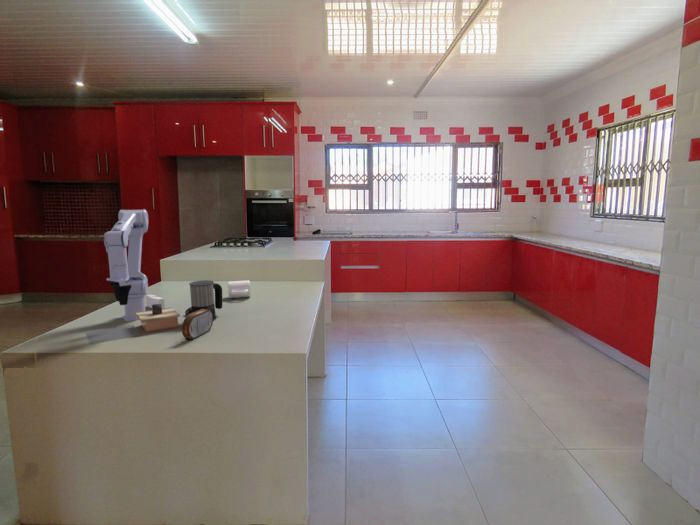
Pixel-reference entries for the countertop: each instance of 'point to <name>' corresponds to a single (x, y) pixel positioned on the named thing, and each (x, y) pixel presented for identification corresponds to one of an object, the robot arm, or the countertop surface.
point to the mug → (239, 289)
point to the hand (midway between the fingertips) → (121, 302)
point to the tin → (197, 323)
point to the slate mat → (112, 334)
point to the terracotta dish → (160, 324)
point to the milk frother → (205, 296)
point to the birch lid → (157, 313)
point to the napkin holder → (154, 300)
